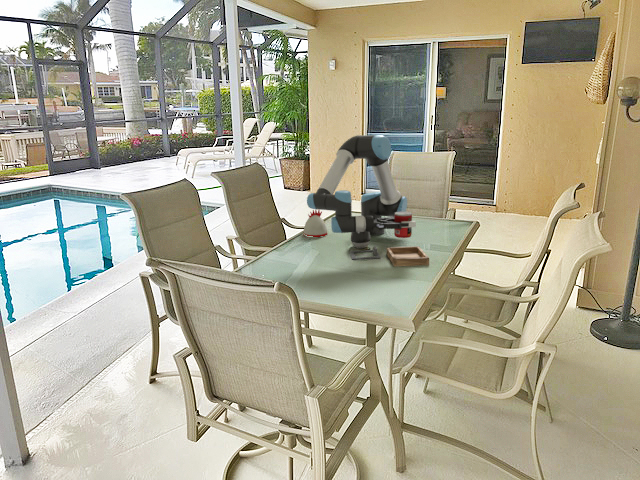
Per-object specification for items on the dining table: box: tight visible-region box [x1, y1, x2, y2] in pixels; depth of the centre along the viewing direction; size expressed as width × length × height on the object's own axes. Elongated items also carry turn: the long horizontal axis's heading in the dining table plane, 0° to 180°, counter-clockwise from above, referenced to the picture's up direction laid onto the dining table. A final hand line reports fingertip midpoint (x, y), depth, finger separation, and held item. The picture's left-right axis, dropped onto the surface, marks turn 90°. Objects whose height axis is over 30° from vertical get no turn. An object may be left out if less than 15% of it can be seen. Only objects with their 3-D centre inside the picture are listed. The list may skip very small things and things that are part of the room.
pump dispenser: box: [350, 231, 371, 249], centre depth 254 cm, size 10×10×15 cm
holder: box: [348, 245, 381, 261], centre depth 241 cm, size 14×14×4 cm
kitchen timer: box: [303, 209, 328, 238], centre depth 282 cm, size 14×14×15 cm
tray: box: [386, 245, 430, 267], centre depth 232 cm, size 20×16×3 cm
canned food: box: [393, 211, 413, 239], centre depth 228 cm, size 8×8×11 cm
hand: (413, 222), depth 228 cm, fingers closed on canned food, 8 cm apart
